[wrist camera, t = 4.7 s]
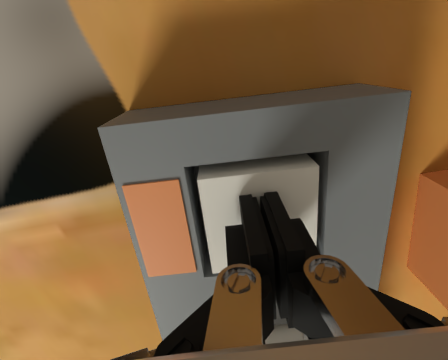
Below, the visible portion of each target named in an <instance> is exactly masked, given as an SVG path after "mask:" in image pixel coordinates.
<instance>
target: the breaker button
mask: <svg viewBox="0 0 448 360" xmlns="http://www.w3.org/2000/svg"><path fill="white" fill-rule="evenodd" d="M301 340H303V333H302V332H300V331H299V330H297V329H295V328H288V324H281V325H274V330H273V331H272V332H271V334H270V335H269V336H268V338H267V339H266V340H265V343H266V344H272V343H282V342H291V341H301Z"/></svg>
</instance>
